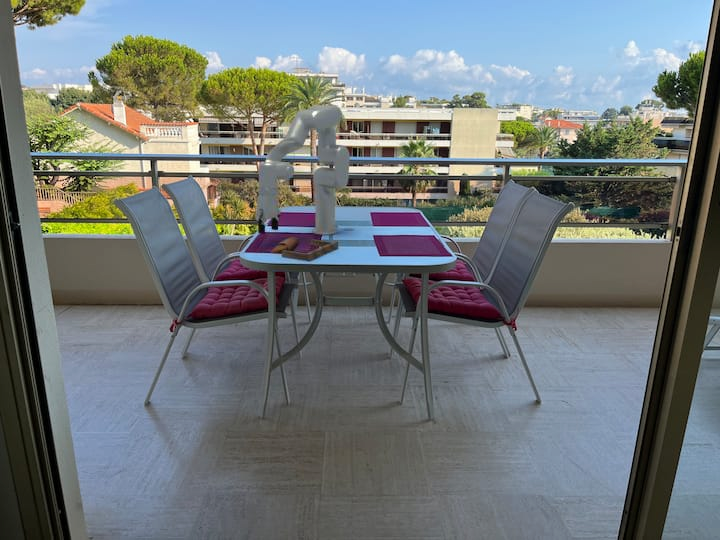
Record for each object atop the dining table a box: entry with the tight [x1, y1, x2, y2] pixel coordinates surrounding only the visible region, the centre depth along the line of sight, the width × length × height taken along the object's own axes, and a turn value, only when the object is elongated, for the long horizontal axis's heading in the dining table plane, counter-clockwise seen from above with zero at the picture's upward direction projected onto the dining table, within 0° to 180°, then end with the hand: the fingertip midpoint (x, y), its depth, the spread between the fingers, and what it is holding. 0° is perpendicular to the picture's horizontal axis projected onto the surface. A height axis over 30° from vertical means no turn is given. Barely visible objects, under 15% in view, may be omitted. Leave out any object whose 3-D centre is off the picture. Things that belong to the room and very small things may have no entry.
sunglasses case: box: [270, 236, 299, 255], centre depth 229 cm, size 18×7×7 cm
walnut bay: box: [281, 238, 339, 262], centre depth 224 cm, size 24×13×3 cm, turn 154°
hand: (268, 231), depth 230 cm, fingers open, 9 cm apart
